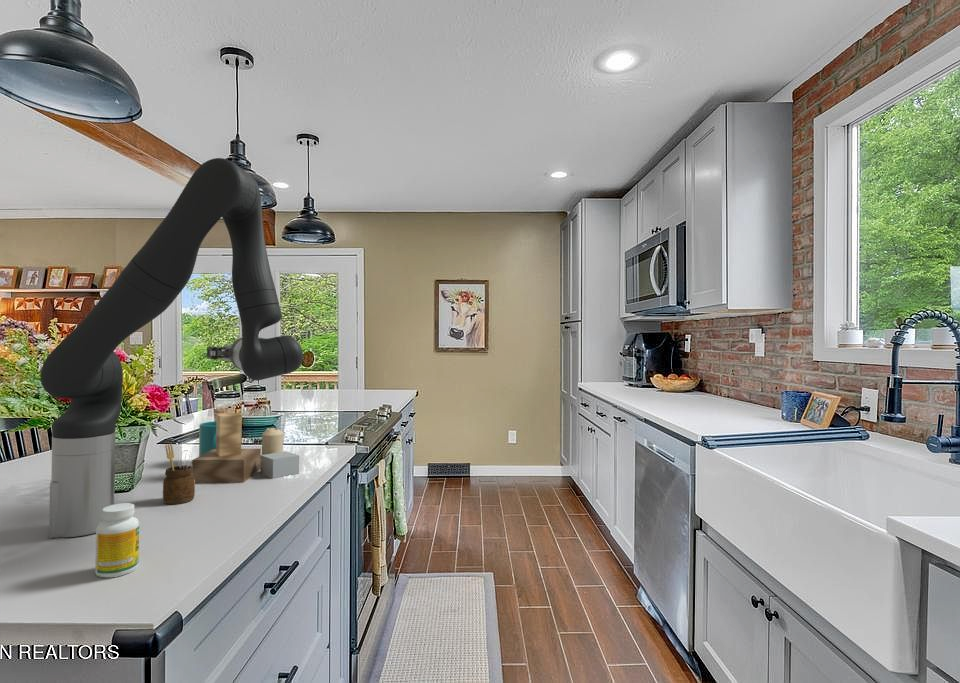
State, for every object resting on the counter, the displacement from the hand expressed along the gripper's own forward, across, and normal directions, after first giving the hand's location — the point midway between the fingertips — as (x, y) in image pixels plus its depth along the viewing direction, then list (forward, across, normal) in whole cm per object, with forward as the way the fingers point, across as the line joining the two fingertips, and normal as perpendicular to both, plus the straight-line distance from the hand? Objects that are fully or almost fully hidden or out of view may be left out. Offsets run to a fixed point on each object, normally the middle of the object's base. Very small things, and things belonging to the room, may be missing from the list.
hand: (237, 352), depth 123 cm
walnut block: (+12, -1, +32) cm, 35 cm away
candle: (+20, -13, +32) cm, 40 cm away
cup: (+27, 0, +32) cm, 42 cm away
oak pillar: (+13, -1, +26) cm, 29 cm away
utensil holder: (-4, +12, +32) cm, 34 cm away
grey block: (+8, -12, +32) cm, 35 cm away
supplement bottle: (-38, +23, +32) cm, 55 cm away
